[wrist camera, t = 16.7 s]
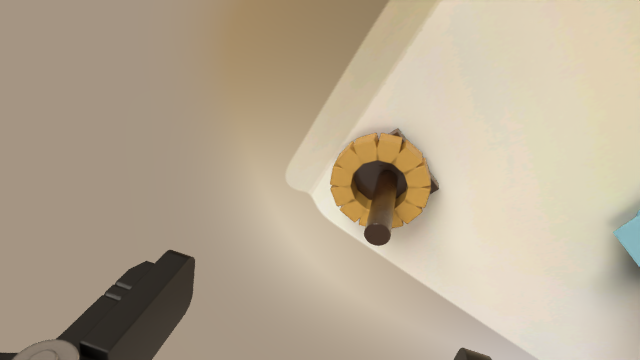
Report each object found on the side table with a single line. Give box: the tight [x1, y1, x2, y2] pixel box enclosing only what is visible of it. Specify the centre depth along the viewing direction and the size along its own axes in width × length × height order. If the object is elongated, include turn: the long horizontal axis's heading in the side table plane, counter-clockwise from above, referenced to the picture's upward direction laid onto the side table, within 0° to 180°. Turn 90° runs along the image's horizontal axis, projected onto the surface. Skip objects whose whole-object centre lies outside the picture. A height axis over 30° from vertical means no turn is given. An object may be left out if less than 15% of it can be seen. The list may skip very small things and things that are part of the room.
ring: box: [330, 133, 431, 228], centre depth 38 cm, size 9×9×2 cm
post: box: [354, 128, 439, 246], centre depth 35 cm, size 7×7×11 cm
